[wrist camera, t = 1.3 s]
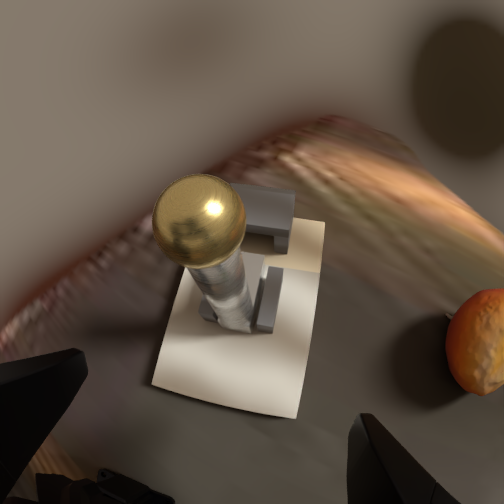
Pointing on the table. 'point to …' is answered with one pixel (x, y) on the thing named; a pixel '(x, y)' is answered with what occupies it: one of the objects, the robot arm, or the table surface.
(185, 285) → the board
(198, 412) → the table surface
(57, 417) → the robot arm
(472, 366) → the fruit
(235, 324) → the gold knob lever
